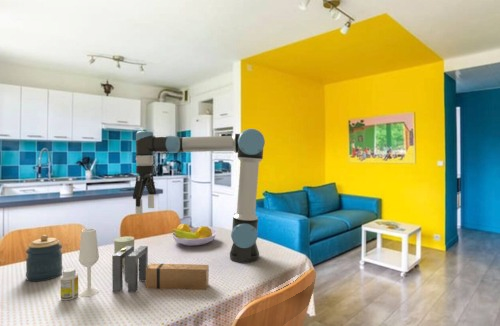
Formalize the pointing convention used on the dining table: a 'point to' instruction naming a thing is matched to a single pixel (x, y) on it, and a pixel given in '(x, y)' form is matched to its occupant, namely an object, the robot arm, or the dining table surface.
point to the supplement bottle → (69, 284)
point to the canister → (44, 259)
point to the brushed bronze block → (177, 276)
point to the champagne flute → (88, 257)
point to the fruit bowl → (193, 235)
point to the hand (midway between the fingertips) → (145, 210)
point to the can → (123, 244)
